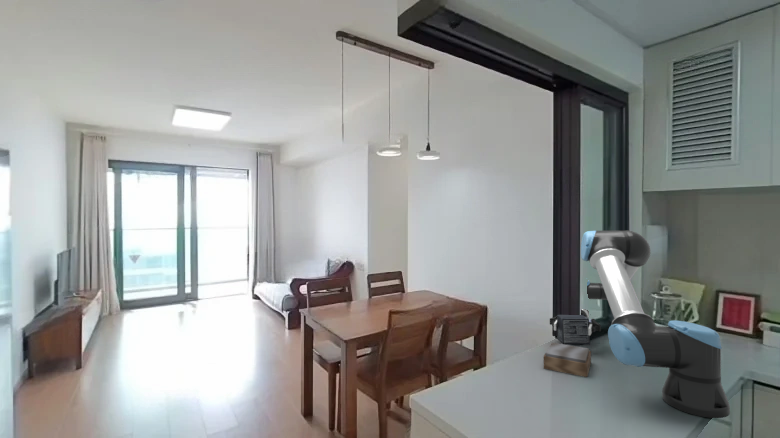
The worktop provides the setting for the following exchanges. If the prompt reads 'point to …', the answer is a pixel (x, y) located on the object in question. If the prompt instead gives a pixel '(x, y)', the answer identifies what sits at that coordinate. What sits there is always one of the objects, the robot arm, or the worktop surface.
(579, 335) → the small box
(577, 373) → the base
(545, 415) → the worktop surface
